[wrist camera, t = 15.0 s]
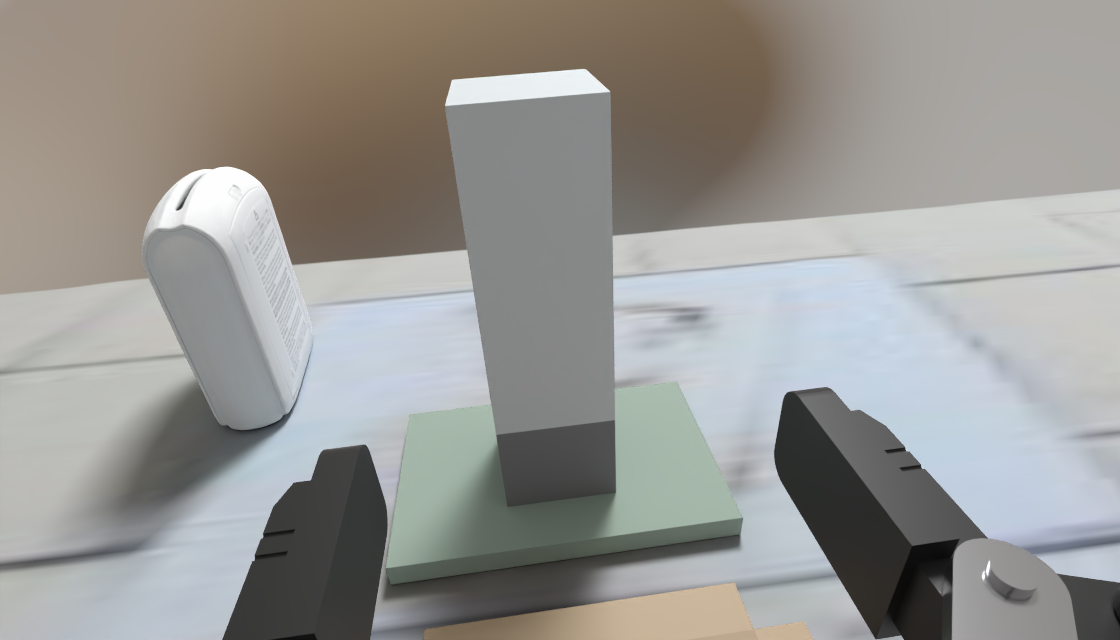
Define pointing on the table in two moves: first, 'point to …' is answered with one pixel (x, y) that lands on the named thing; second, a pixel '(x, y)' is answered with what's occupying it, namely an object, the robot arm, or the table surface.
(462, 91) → the box
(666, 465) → the rubber mat
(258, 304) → the photo printer
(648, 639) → the open carton
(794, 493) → the robot arm
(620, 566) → the table surface
